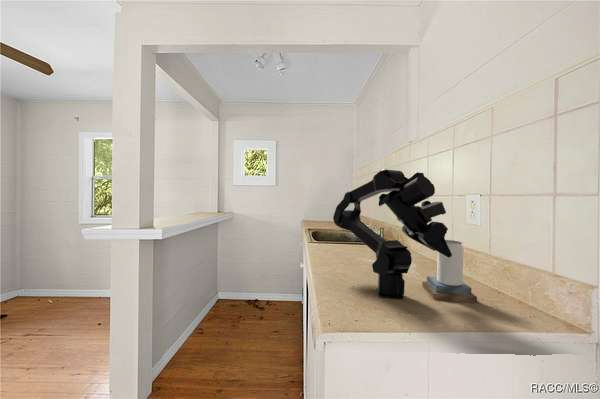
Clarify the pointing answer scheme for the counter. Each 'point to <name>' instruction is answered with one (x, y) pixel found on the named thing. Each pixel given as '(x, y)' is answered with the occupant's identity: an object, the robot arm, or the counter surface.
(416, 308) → the counter surface
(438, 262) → the can
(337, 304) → the counter surface
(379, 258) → the robot arm
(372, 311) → the counter surface
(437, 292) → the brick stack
